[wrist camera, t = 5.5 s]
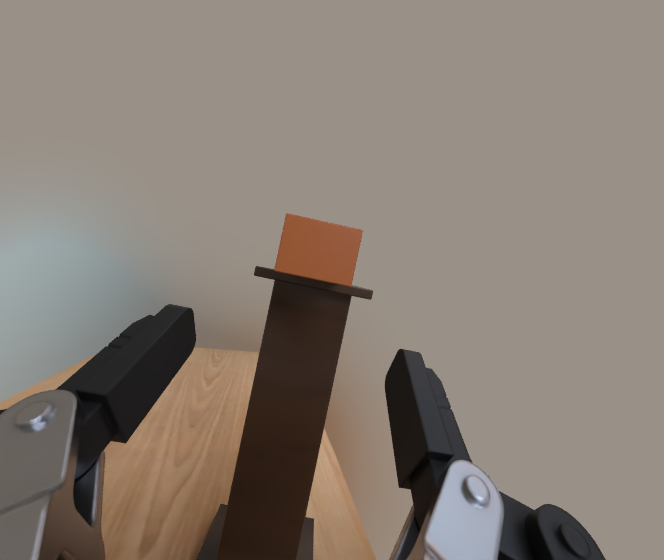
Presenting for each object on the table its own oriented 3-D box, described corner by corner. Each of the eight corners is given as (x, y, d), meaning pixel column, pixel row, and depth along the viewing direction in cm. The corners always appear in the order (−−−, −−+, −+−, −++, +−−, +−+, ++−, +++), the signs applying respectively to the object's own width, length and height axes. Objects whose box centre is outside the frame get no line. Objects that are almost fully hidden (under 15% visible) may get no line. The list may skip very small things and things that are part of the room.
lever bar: (301, 274, 32) (306, 252, 32) (331, 281, 33) (336, 258, 33) (273, 271, 12) (286, 212, 12) (351, 287, 13) (363, 229, 13)
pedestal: (218, 516, 31) (270, 268, 31) (311, 530, 32) (362, 287, 32) (155, 664, 19) (239, 262, 19) (306, 683, 20) (388, 293, 20)
